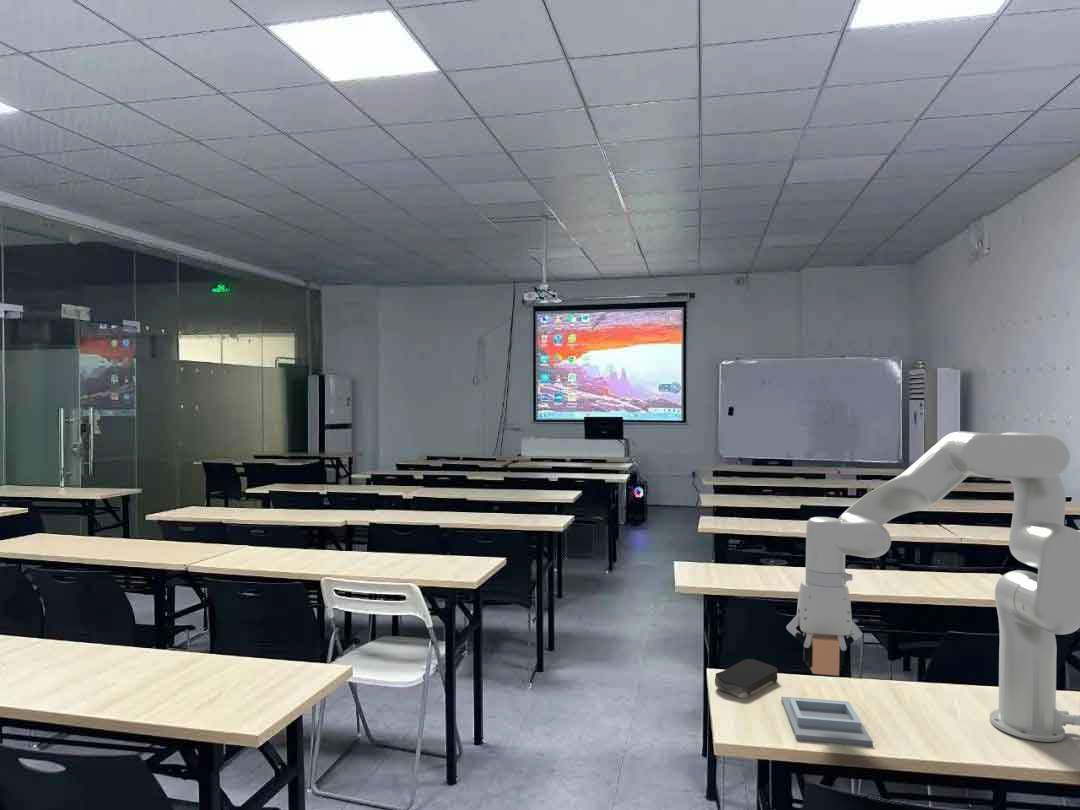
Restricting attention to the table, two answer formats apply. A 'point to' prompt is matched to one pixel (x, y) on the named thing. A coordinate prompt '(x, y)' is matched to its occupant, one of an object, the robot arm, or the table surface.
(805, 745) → the table surface
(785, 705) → the holder dock
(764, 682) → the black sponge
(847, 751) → the table surface
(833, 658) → the orange rectangular block
